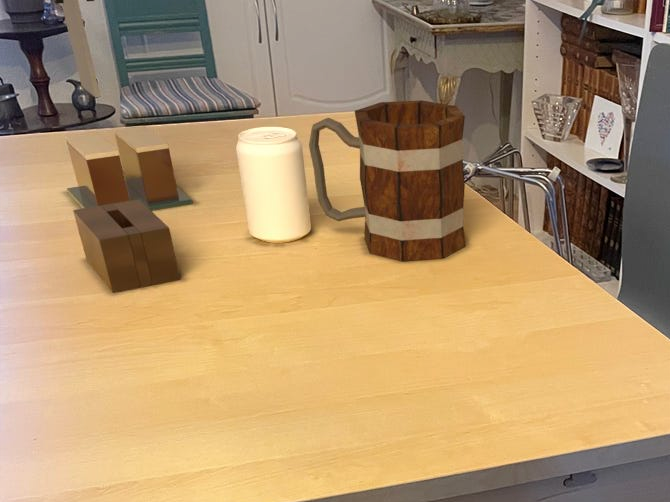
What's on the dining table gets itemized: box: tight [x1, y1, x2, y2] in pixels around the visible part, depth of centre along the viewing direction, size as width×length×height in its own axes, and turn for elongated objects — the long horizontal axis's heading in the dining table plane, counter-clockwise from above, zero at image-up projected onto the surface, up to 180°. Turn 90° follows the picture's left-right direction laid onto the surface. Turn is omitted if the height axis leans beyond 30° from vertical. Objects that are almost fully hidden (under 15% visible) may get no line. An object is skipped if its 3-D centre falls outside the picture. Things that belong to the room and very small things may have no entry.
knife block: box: [73, 199, 181, 294], centre depth 112 cm, size 12×8×6 cm, turn 32°
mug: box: [308, 99, 466, 262], centre depth 117 cm, size 20×14×15 cm
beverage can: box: [235, 126, 312, 244], centre depth 120 cm, size 8×8×12 cm
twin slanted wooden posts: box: [65, 125, 193, 211], centre depth 132 cm, size 14×14×8 cm
